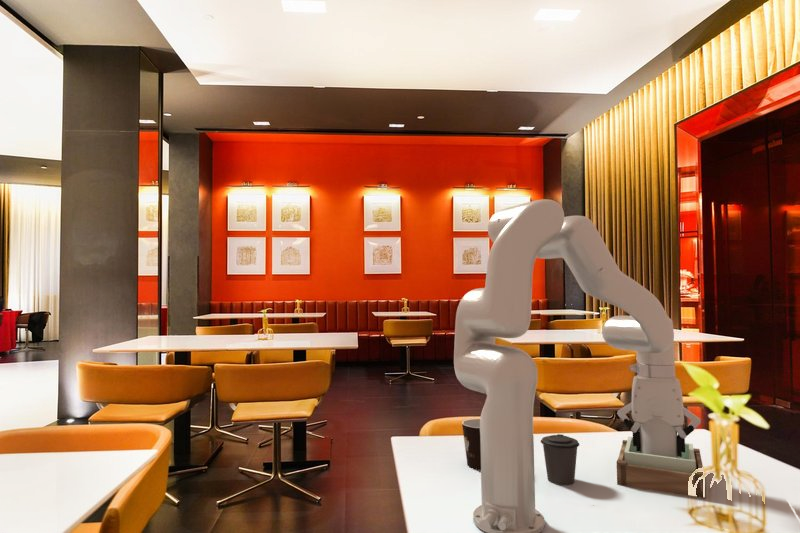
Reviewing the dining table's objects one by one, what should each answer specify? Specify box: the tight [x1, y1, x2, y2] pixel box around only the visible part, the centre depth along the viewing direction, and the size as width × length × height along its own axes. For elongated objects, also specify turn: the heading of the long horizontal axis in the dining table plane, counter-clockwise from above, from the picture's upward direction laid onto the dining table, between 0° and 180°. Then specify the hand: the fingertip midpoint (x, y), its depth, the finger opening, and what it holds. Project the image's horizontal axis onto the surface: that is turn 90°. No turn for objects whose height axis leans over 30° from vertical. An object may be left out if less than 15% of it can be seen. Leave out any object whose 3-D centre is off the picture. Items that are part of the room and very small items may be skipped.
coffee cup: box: [540, 433, 580, 486], centre depth 107 cm, size 8×8×10 cm
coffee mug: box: [461, 418, 481, 471], centre depth 117 cm, size 12×9×10 cm
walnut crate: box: [616, 439, 707, 499], centre depth 108 cm, size 18×16×5 cm
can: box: [639, 415, 678, 458], centre depth 108 cm, size 8×8×12 cm
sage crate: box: [624, 436, 696, 473], centre depth 108 cm, size 13×13×6 cm
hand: (658, 451), depth 108 cm, fingers closed on can, 7 cm apart
